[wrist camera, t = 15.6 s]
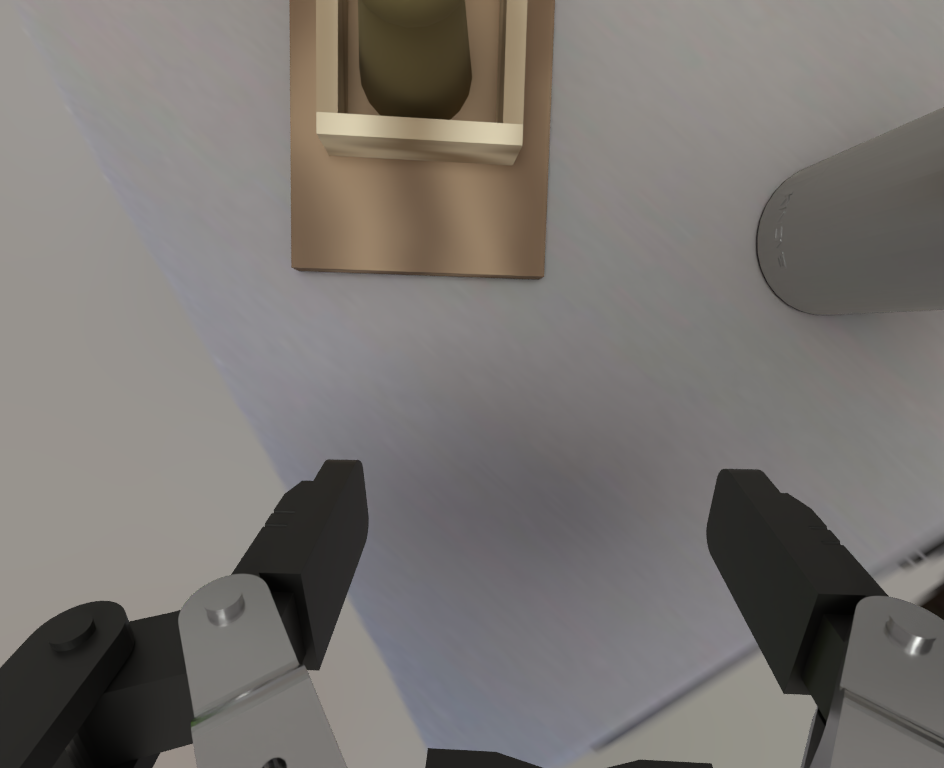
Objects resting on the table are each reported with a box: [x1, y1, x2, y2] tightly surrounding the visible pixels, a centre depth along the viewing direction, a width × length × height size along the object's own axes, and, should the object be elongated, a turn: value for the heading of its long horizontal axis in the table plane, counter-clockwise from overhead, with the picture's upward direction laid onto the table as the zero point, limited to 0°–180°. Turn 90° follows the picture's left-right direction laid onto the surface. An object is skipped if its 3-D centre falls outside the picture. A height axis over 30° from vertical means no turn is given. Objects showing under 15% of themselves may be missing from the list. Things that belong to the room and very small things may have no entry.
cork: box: [358, 0, 472, 120], centre depth 22 cm, size 6×6×11 cm
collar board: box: [290, 0, 555, 279], centre depth 27 cm, size 14×22×4 cm, turn 178°
